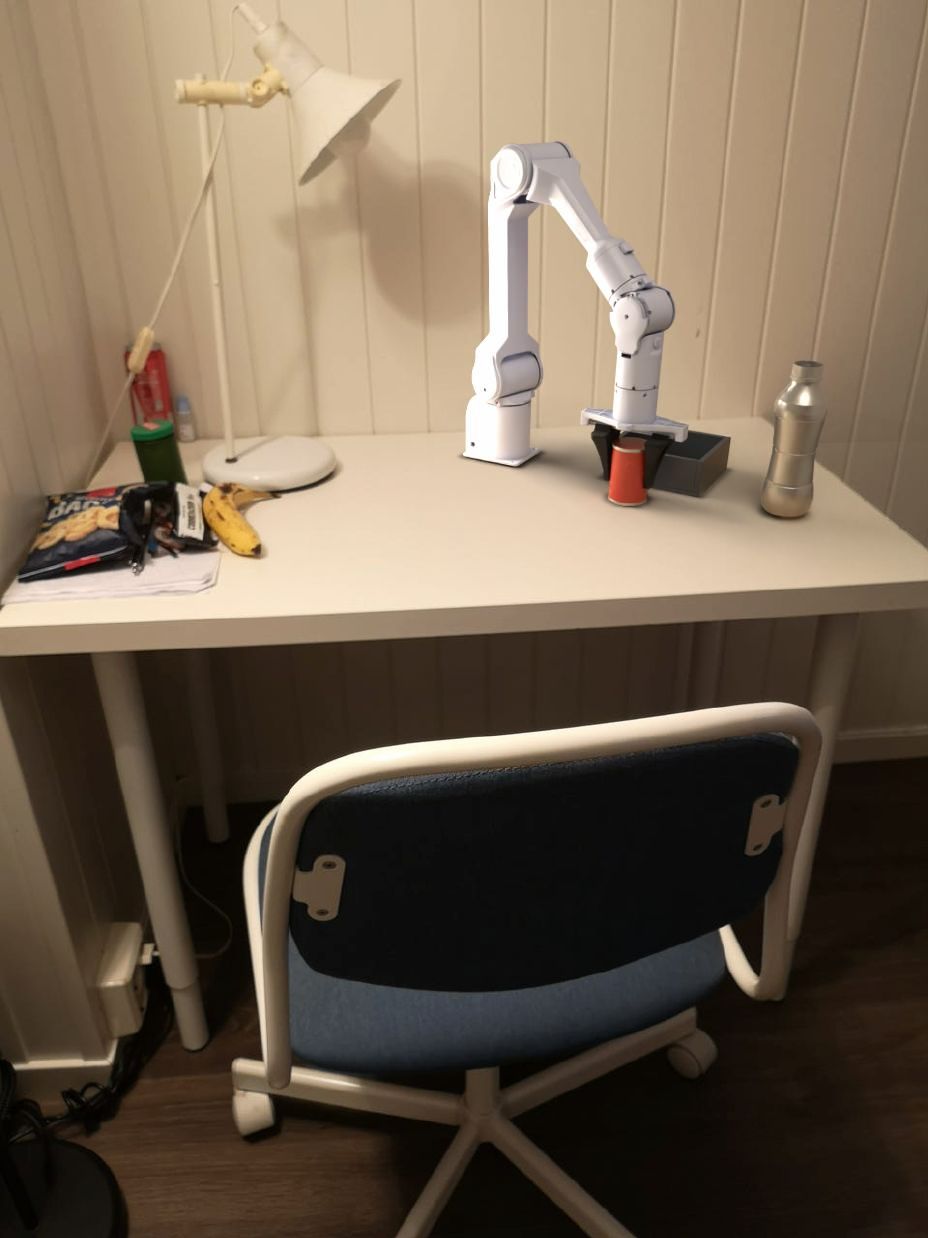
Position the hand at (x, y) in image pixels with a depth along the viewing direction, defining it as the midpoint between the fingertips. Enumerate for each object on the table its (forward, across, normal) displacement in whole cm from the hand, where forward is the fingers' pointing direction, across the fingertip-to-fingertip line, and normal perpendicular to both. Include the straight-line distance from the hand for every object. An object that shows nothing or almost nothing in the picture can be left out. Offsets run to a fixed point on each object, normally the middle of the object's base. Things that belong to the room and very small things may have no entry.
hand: (628, 482), depth 134 cm
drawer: (+2, +1, +12) cm, 12 cm away
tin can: (+2, 0, 0) cm, 2 cm away
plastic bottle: (+3, +20, +6) cm, 21 cm away
